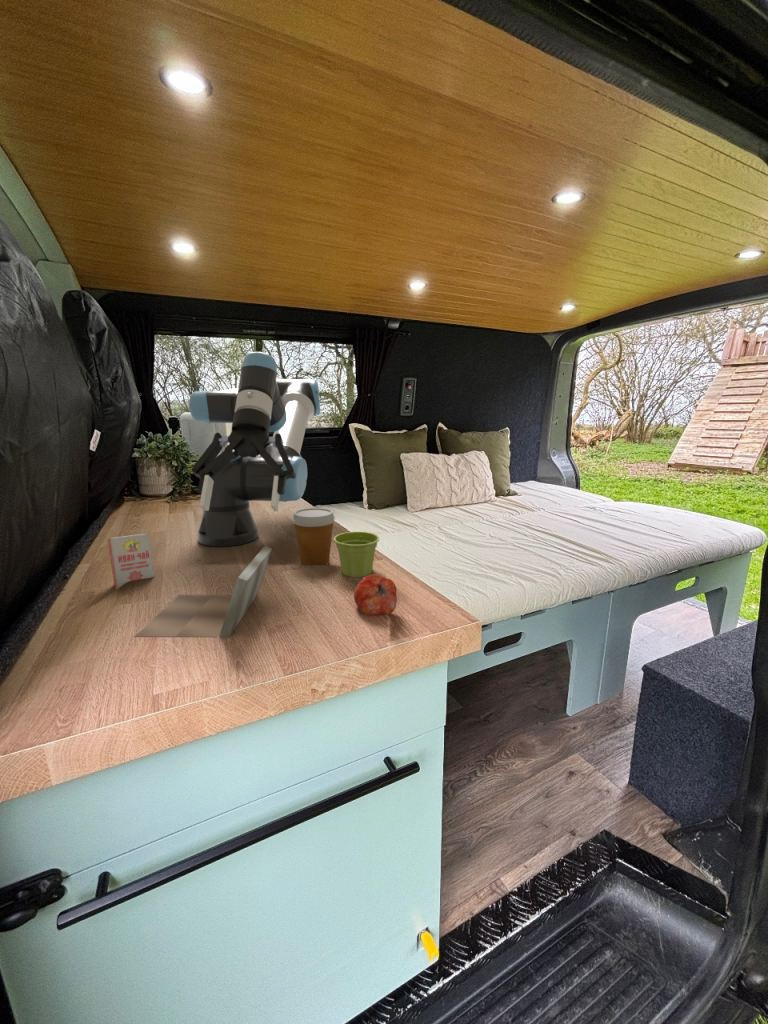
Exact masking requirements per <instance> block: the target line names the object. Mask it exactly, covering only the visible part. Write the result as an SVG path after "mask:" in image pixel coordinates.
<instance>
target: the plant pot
mask: <svg viewBox="0 0 768 1024" xmlns="http://www.w3.org/2000/svg"><path fill="white" fill-rule="evenodd" d="M333 542H334V543H335V546H336V548H337V551H338V556H339V564H340V570H341V574H343V575H345V576H347V577H353V578H354V577H355V578H358V577H359V578H360V577H365V576H367V575H369V574H372V572H373V570H374V569H373V566H374V561H375V559H374V558H375V553H376V548H377V547H378V546H377V545H378V543H379V542H380V536H379V535H378V534H377V533H373V532H372V533H371V532H367V531H350V532H348V531H347V532H342V533H338V534H337V535H335V536H334V537H333Z"/></svg>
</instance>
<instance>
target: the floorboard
mask: <svg viewBox="0 0 768 1024" xmlns="http://www.w3.org/2000/svg"><path fill="white" fill-rule="evenodd" d="M232 595H233V594H178V596H176V598H174V599H173V600H171V602H170V603H169V604H168V605H167V606H165V607H164V609H162V610H161V611H160V612H159V613H158V614H157V615H156V616H155V617H154V618H152V619H151V621H149V622H148V623H147V624H146V625H145V626H144V627H143V628H142V629H141V630H140V631H139V632H138V633H136V635H134V637H135V638H170V637H171V638H217V637H218V635H220V633H221V630H222V626H223V623H224V620H225V617H226V614H227V610H228V607H229V604H230V601H231V598H232Z"/></svg>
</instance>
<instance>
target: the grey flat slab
mask: <svg viewBox="0 0 768 1024" xmlns="http://www.w3.org/2000/svg"><path fill="white" fill-rule="evenodd" d="M272 550H273V548H271V547H269V546H265V545H264V546H262V548H261V550H259V552H258V553H257V554H256V556H255V557H254V558H252V561H250V563H249V564H248V565H247V566H246V567H245V568H244V570H243V571H241V573H240V575H239V576H237V579H236V582H235V586H234V588H233V592H232V594H231V595H232V598H231V601H230V604H229V607H228V610H227V614H226V617H225V620H224V623H223V626H222V630H221V632H220V633H219V638H230V637H231V635H232V634H233V632H234V631H235V629H236V628H237V626H238V624H239V623H240V622H241V620H242V619H243V617H244V616H245V614H246V612H247V611H248V610H249V608H250V606H251V605H252V603H253V601H255V598H256V597H257V596H258V592H259V589H260V586H261V583H262V581H263V577H264V575H265V572H266V569H267V565H268V562H269V559H270V556H271V553H272Z"/></svg>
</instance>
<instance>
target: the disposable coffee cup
mask: <svg viewBox="0 0 768 1024" xmlns="http://www.w3.org/2000/svg"><path fill="white" fill-rule="evenodd" d="M291 520H292V522H293V524H294V528H295V534H296V540H297V541H296V542H297V545H298V546H297V547H298V553H299V558H300V564H301V565H302V566H327V565H328V564H329V563H330V555H331V548H332V547H331V546H332V538H333V537H332V535H333V528H334V527H333V526H334V522H335V520H336V516H335V515H334V512H333V510H332V509H329V508H324V507H307V508H300V509H298V510H295V511H294V512H293V516H292V517H291ZM328 562H329V563H328ZM327 563H328V564H327ZM326 564H327V565H326Z"/></svg>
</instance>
